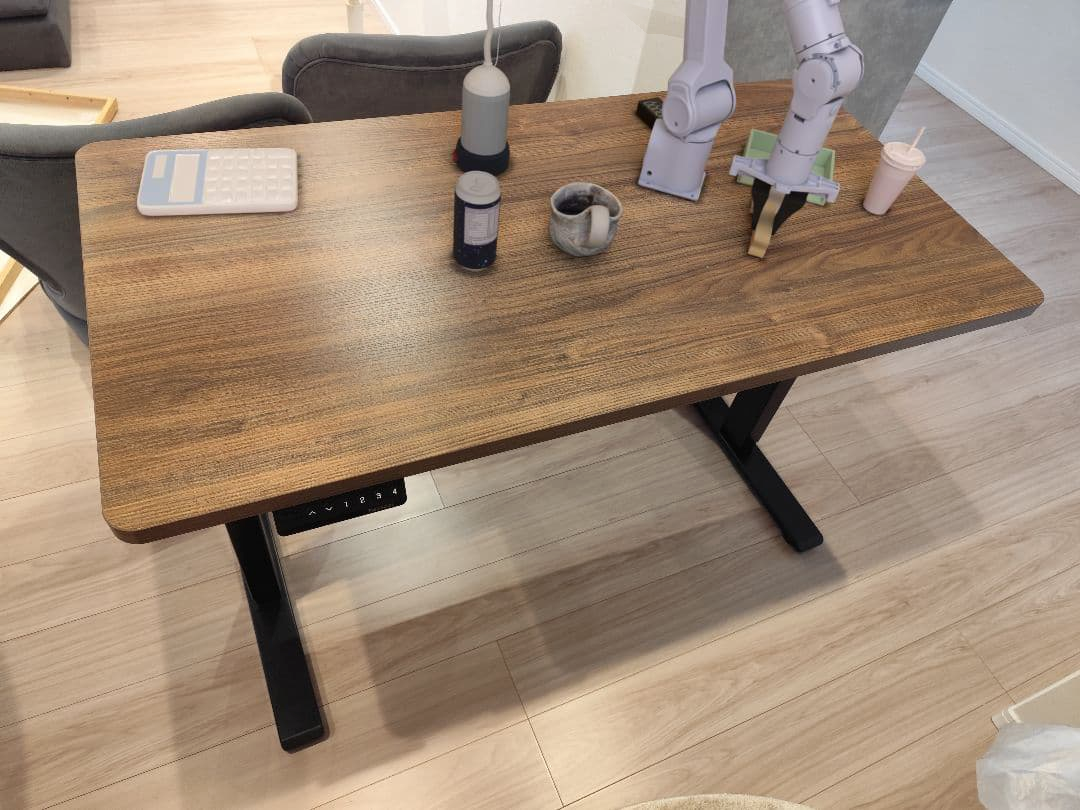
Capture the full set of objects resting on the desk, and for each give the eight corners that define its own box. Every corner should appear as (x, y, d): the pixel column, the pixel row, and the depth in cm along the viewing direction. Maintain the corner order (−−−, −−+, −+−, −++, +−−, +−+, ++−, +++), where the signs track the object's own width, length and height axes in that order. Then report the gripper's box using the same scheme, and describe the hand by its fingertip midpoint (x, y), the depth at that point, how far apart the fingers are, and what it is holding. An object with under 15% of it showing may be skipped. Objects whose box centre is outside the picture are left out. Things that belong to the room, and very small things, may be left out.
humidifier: (444, 156, 112) (446, -20, 92) (486, 141, 115) (497, -31, 96) (476, 183, 108) (486, 6, 89) (519, 167, 112) (537, -6, 93)
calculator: (298, 212, 99) (296, 200, 98) (138, 218, 95) (133, 205, 94) (297, 156, 107) (296, 144, 106) (149, 159, 103) (145, 147, 102)
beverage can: (501, 254, 99) (508, 177, 89) (486, 279, 95) (491, 201, 86) (462, 241, 99) (465, 164, 90) (445, 266, 96) (447, 188, 87)
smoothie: (896, 223, 114) (945, 142, 103) (856, 214, 114) (900, 132, 103) (892, 200, 118) (938, 119, 107) (853, 191, 118) (895, 110, 108)
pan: (823, 205, 115) (832, 187, 112) (736, 181, 116) (743, 163, 114) (829, 142, 128) (837, 124, 125) (751, 121, 129) (757, 103, 127)
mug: (598, 220, 106) (612, 159, 98) (632, 277, 99) (649, 216, 91) (535, 227, 103) (544, 165, 95) (565, 287, 96) (577, 224, 88)
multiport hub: (655, 109, 128) (658, 96, 126) (691, 142, 122) (695, 129, 121) (634, 113, 126) (637, 100, 124) (670, 147, 121) (674, 134, 119)
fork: (770, 260, 104) (777, 245, 102) (740, 251, 104) (746, 236, 102) (784, 188, 113) (791, 173, 111) (756, 180, 114) (762, 165, 112)
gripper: (740, 143, 93) (709, 230, 104) (853, 174, 92) (810, 258, 102) (747, 117, 98) (716, 202, 108) (855, 146, 96) (813, 230, 107)
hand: (762, 228), depth 106 cm, fingers closed on fork, 2 cm apart
